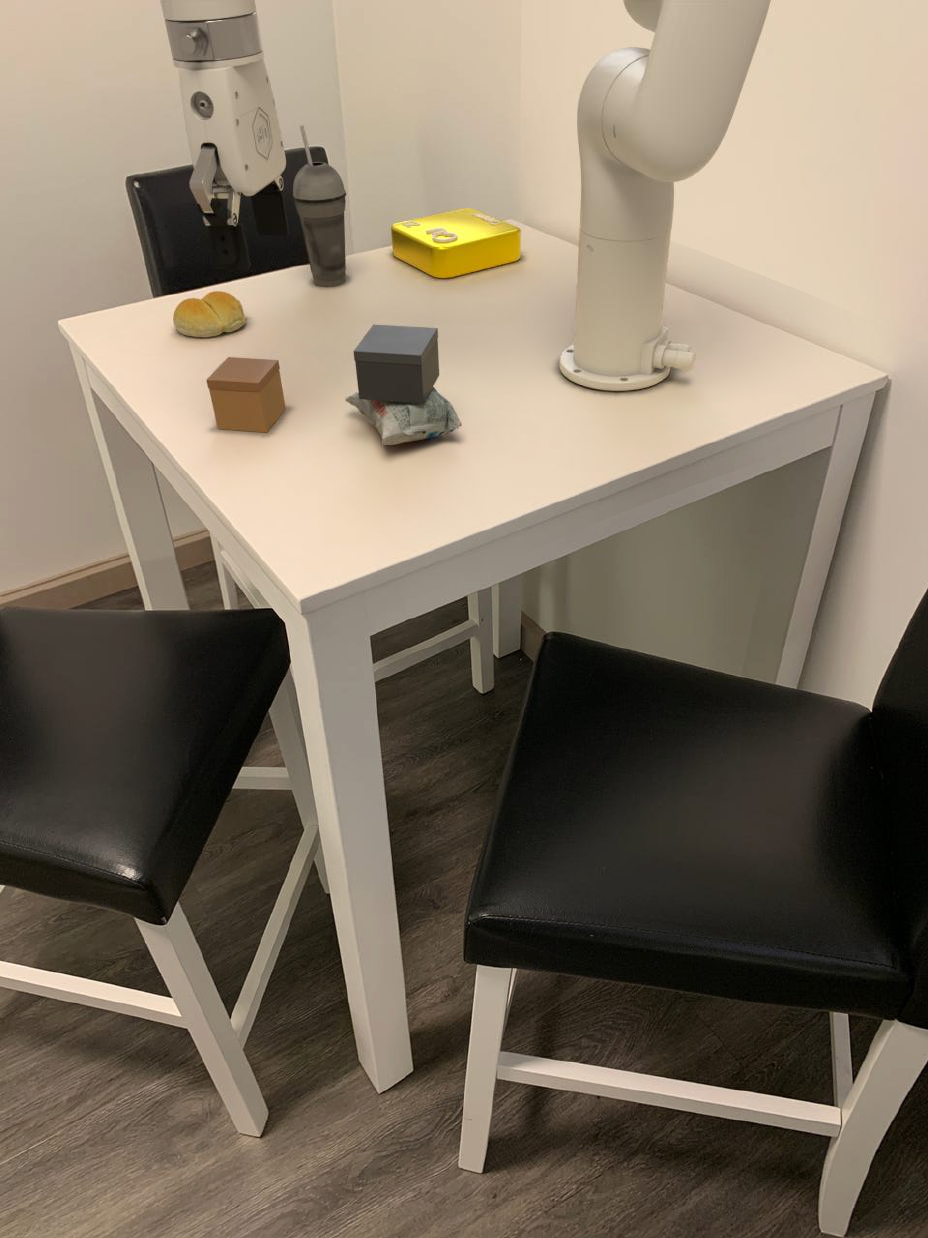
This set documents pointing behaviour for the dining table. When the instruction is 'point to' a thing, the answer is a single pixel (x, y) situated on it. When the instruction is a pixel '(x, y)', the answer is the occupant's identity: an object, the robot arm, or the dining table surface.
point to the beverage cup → (322, 219)
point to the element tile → (456, 242)
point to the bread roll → (209, 315)
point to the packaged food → (408, 417)
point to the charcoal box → (397, 363)
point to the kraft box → (246, 394)
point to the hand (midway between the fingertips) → (254, 250)
